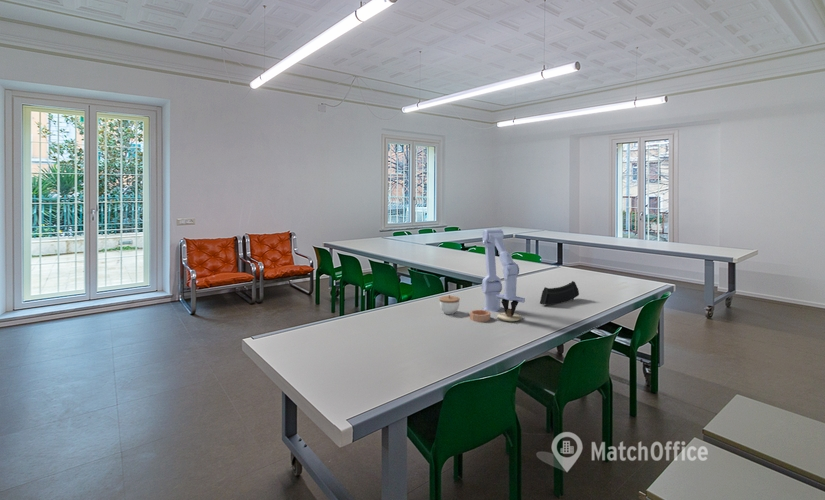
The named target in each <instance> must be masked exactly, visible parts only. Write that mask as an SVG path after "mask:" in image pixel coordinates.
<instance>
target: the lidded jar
mask: <svg viewBox="0 0 825 500" xmlns="http://www.w3.org/2000/svg"><path fill="white" fill-rule="evenodd" d="M439 307H440V310H441V311H442V312H443V314H446V315H453V314H455V313H456V312H457V311H458V310H459V307H460V298H459V297H458V296H454V295H453V296H452V295H450V294H449V295H444V296H440V297H439Z"/></svg>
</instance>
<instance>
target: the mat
mask: <svg viewBox="0 0 825 500" xmlns="http://www.w3.org/2000/svg"><path fill="white" fill-rule="evenodd" d="M525 319H526V317H522V319H521V320H519V321H505V320H501V319H499V318H498V317H496V318H495V319H494V322H495V321H496V322H502V323H507V324H515V325H518V324H520V323H521V322H522V321H523V320H525Z"/></svg>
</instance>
